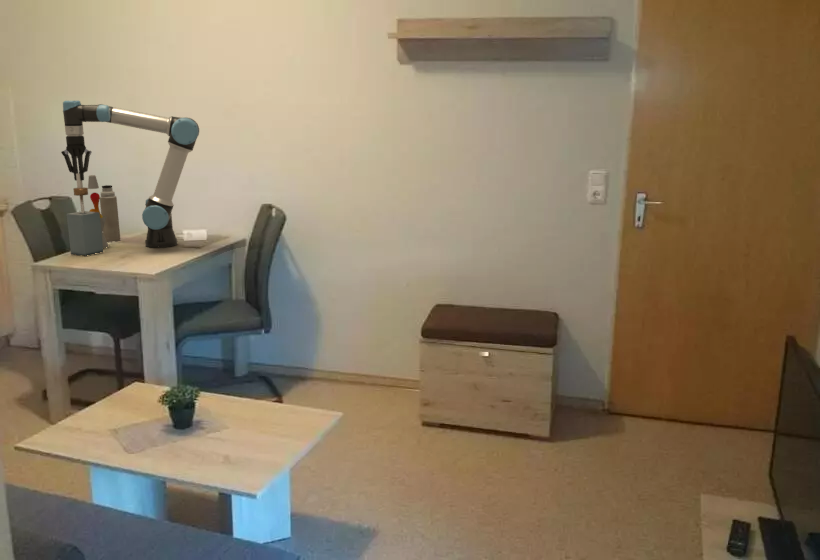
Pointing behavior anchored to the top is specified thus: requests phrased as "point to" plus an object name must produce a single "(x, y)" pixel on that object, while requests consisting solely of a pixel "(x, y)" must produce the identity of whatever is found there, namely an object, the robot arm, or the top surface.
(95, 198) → the lava lamp
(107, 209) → the thermos bottle
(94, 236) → the grey utensil holder
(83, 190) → the plunger
